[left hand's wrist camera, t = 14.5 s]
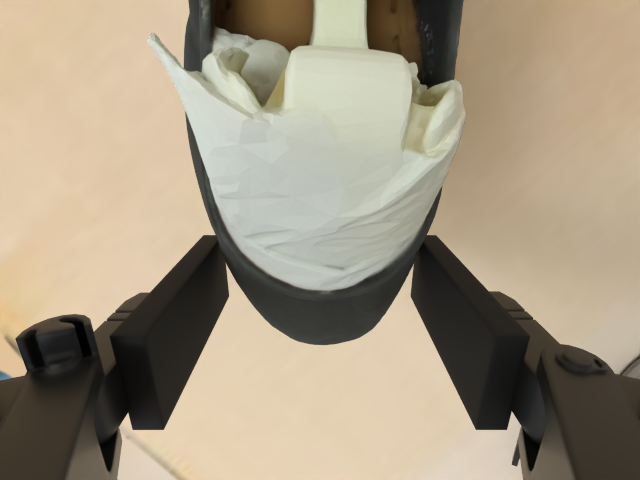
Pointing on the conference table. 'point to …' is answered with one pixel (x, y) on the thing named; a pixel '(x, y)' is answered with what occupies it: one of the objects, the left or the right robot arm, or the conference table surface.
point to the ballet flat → (320, 147)
